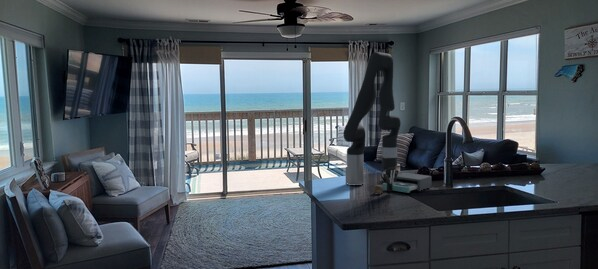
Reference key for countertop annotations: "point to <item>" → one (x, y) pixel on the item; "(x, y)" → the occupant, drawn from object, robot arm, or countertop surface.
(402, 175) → the player housing
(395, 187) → the tray
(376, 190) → the pedestal
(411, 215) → the countertop surface
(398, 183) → the disc
